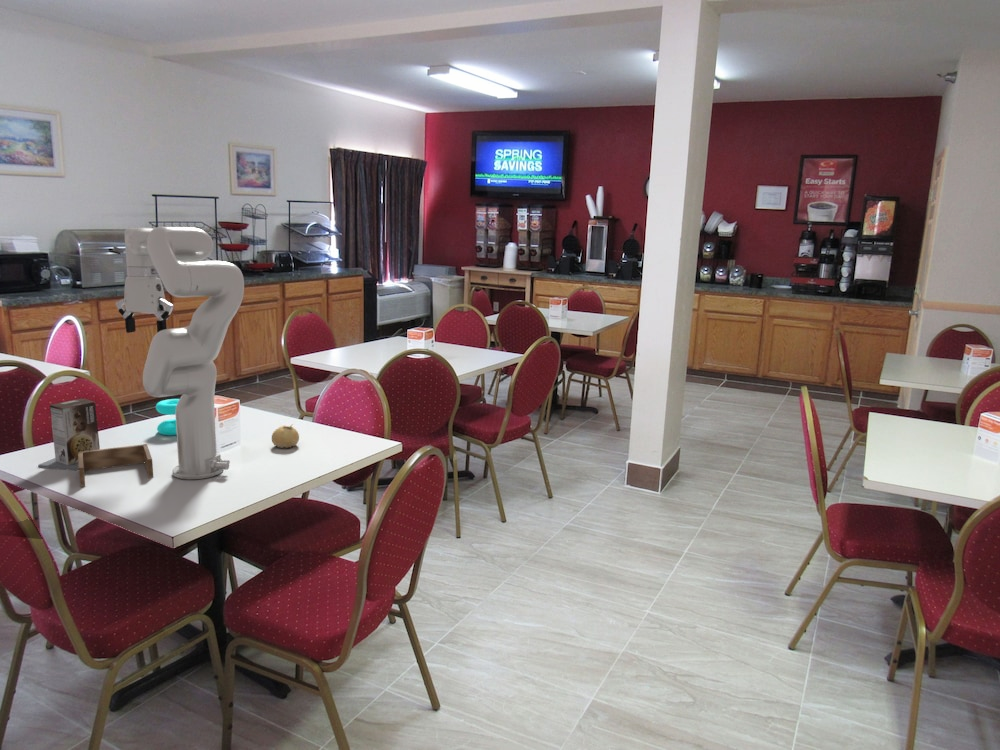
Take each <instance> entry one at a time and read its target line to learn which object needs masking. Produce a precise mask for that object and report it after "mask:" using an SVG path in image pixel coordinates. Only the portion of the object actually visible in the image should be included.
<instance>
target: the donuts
mask: <svg viewBox="0 0 1000 750" xmlns="http://www.w3.org/2000/svg"><path fill="white" fill-rule="evenodd" d="M179 399H180V398H170V399H165V400H164V399H163V400H160V401H158V402H157V403H156V405H155V410H156V411H157V412H158V413H159V414H162V415H165V416H166V415H169V416H173V415H174V416H176V415H175V411H176V406H177V403H178V401H179ZM156 431H157V432H158V433H159V434H160V435H164V436H177V432H176V418H173V419H167V420H164V421H162V422H160V423H159V424H157V427H156Z"/></svg>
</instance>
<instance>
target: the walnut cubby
mask: <svg viewBox="0 0 1000 750" xmlns="http://www.w3.org/2000/svg"><path fill="white" fill-rule="evenodd" d="M78 460H79V471H78V473H79V474H78V475H79V486H80V488H83V487H82V486H85V487H86V480H85V479H86V477H85V476H86V475H85V471H90V470H89V469H91V470H98V469H97V468H99V469H104V468H103V467H107V468H112V466H115V467H122V466H121V465H123V466H129V465H128V464H131V465H137V463H139V464H144V466H145V469H146V472H147V476H148V478H149V479H151V478H154V468H153V467H154V466H153V457H152V455H151V452H150V448H149V446H148V444H147V443H146V444H145V443H144V444H136V445H134V444H133V445H128V446H119V447H118V446H117V447H110V448H109V447H108V448H100V449H99V450H91V451H82V452H78ZM144 462H145V463H144Z"/></svg>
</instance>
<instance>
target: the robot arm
mask: <svg viewBox="0 0 1000 750" xmlns="http://www.w3.org/2000/svg"><path fill="white" fill-rule="evenodd" d="M124 247H125V248H124V249H125V259H126V261H125V262H126V275H127V276H126V277H125V281H124V292H123V293H124V294H123V295H124V296H123V297H124V298H122V299H120V300H118V301H116V302H115V306H116V308H117V310H118V313H119V314H120V315H122V318H123V319H124V323H125V324H124V325H125V331H126V333H127V334H128V333H129V334H131V333H135V332H136V329H137V328H136V319H135V317H134V315H136V314H147V315H151V314H153V315H154V316H155V317H156V318H157V320H156V331H157V333H156V334H154V336H153V337H152V339H151V342H150V345H149V349H148V353H147V356H146V360H145V363H144V367H143V373H142V384H143V385H142V386H143V388H144V390H145V392H146V393H147V394H148V395H149V396H151V397H153V398H166V397H174V396H179V395H181V396H180V398H178V399H179V401H178V403H177V406H176V411H175V415H174V416H175V419H176V432H177V435H176V444H177V445H176V446H177V459H178V461H177V463H178V465H176V466H175V467H173V469H172V476H173V477H175V478H176V479H181V480H202V479H208V478H211V477H216V476H217V475H219V474H221V473H222V472H224V470H225V471H229V468H230V463H231V462H230V459H229V460H228V459H222V458H221V456H222V455H221V454H220V453H217V435H216V416H215V391H216V390H215V389H216V384H217V376H218V375H217V374H218V373H217V372H218V371H217V366H216V364H215V363H214V361H215V360H216V359H217V358H218V355H219V354H220V352H221V349H222V347H223V346H222V345H223V343H224V341H225V337H226V335H227V332H228V329H229V326H230V324H231V322H232V320H233V319H234V317H235V316H236V314H237V312H238V311H239V308H240V307H241V304H242V302H243V298H244V293H245V281H244V280H245V279H244V278H245V277H244V275H243V273H242V270H241V269H240V268H239V267H238V266H237V265H236V264H234V263H231V262H228V261H224V260H223V261H222V260H206V259H207V258H209V257H210V256H211V254H212V252H213V250H214V241H213V239H212V237H211V235H209V234H208V233H207V231H204V230H203V229H201V228H198V227H193V226H157V227H129V228H127V229H125V230H124ZM164 289H165V290H166V291H167V293H169V294H170V296H172V297H175V298H193V297H194V298H196V297H197V298H198V297H199V298H200V297H209V298H208V299H206V300H205V301H203V302H202V303H201V304H200V305H199V306H198V307H197V308H196V310H195V311H194V312H193V314H192V317H191V320H190V323H189V325H187V326H184V327H175V328H167V320H168V319H169V317H170V316H171V315H172V312H173V310H174V304H172V303H171V302H169V301H167V300H166V297H165V291H164Z"/></svg>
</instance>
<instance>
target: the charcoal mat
mask: <svg viewBox="0 0 1000 750" xmlns="http://www.w3.org/2000/svg"><path fill="white" fill-rule="evenodd" d="M38 467H39V468H44V467H49V468H48V469H55V468H59V469H58V470H66V469H69V471H77V470H79V463H76V464H72V465H66V464H63V463H59V462H56V459H55V457H54V458H52V459H49V460H47V461H44V462H42V463H39V464H38Z"/></svg>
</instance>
